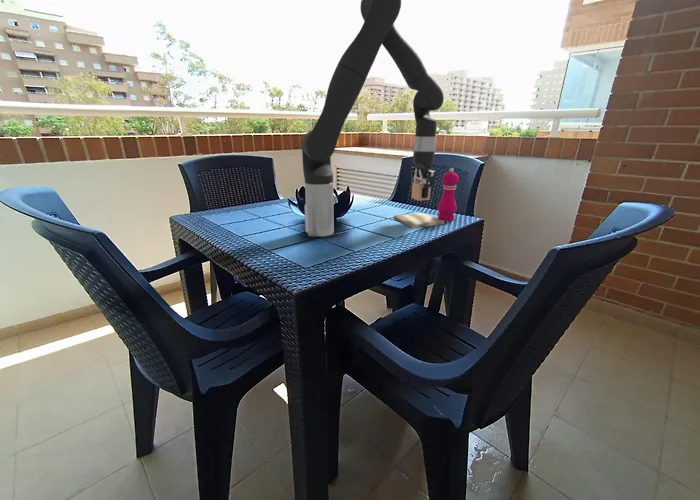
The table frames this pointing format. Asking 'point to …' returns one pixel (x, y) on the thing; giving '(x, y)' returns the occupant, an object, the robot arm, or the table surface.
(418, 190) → the terracotta block
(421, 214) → the birch board
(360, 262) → the table surface
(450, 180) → the pepper mill
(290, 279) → the table surface
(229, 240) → the table surface
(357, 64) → the robot arm
